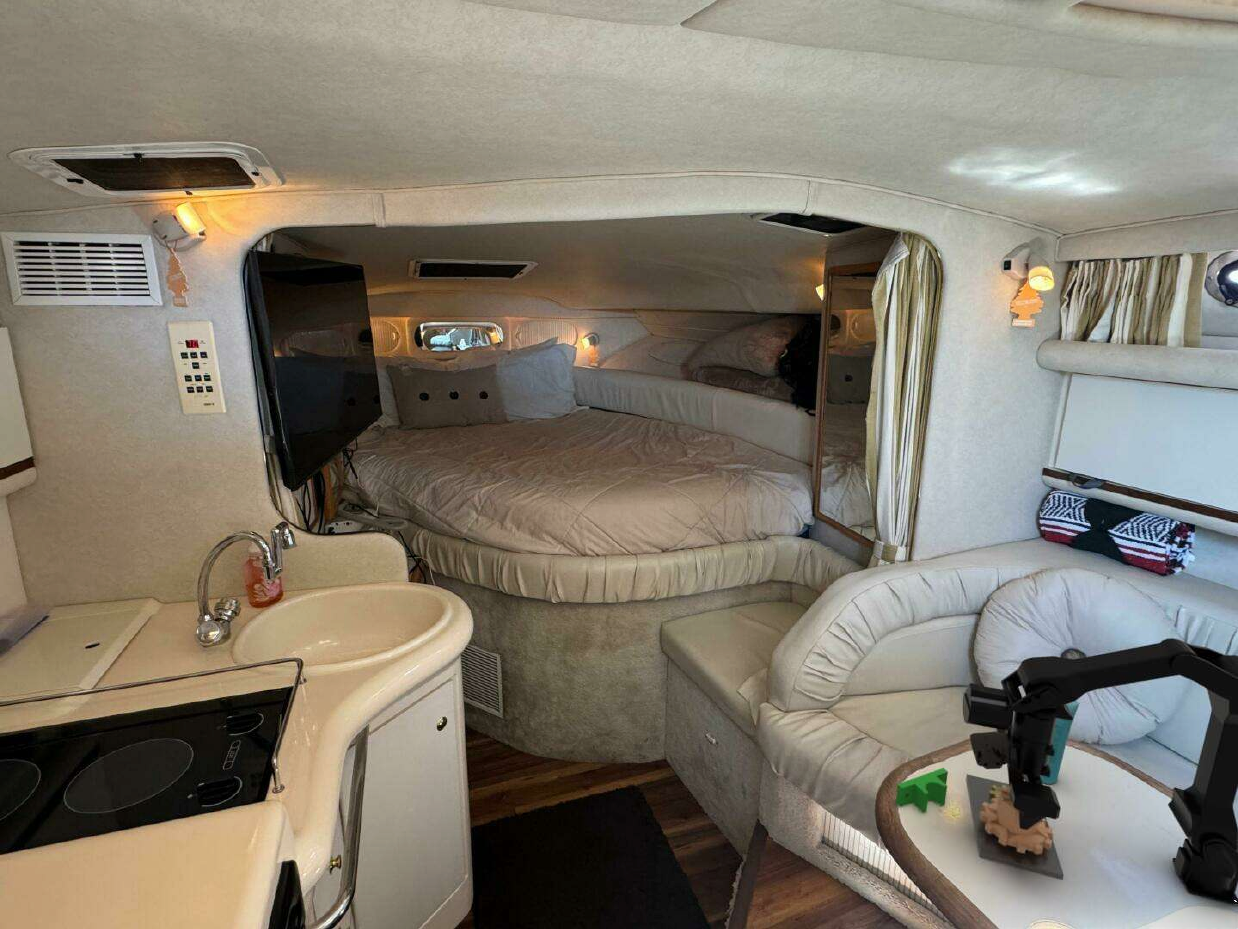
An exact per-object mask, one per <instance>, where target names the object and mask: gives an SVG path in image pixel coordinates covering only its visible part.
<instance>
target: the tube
mask: <svg viewBox="0 0 1238 929" xmlns="http://www.w3.org/2000/svg"><path fill="white" fill-rule="evenodd" d="M1066 705H1067V707H1068V709H1069V711H1070V713H1071V715H1072V716H1073V720H1072V721H1070V720H1064V719H1059V718H1057V719H1056V724H1055V729H1054V734H1053V740H1052V745H1053V748H1054V751H1055V752H1054V756H1049V760H1048V766H1049V769H1050V777H1047V776H1042V775H1040V777H1041V780H1042V783H1043V784H1049V785H1050V784H1052V785H1053V784H1055V783H1057V782H1058V780H1059V779H1058V778H1059V775H1060V774H1059V773H1060V771H1061V765H1062V762H1063V758H1064V753H1065V750H1066V746H1067V743H1068V739H1069V734H1070V732H1071V728H1072V725H1073V722H1074V719H1075V716H1076V713H1077V711H1078V709H1079V706H1080V701H1078V700H1076V701H1075V702H1072V703H1068V704H1066Z"/></svg>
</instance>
